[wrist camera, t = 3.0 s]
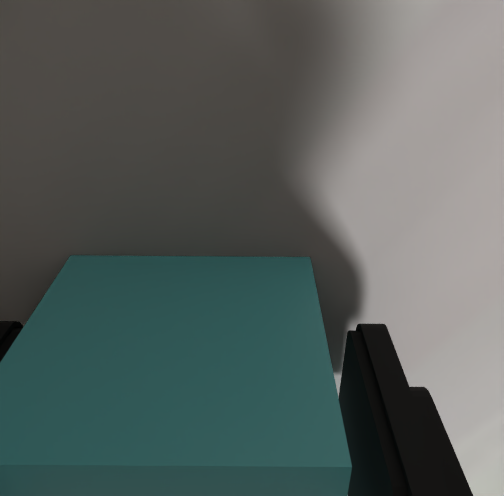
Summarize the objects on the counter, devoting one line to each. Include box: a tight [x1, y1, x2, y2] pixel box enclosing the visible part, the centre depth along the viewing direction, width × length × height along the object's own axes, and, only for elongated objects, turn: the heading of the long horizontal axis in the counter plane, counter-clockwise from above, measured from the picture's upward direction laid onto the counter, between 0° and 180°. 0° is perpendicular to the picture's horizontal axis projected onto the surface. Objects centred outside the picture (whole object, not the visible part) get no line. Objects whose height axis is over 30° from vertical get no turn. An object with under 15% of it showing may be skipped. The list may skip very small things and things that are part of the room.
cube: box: [0, 255, 352, 496], centre depth 9 cm, size 5×5×5 cm
